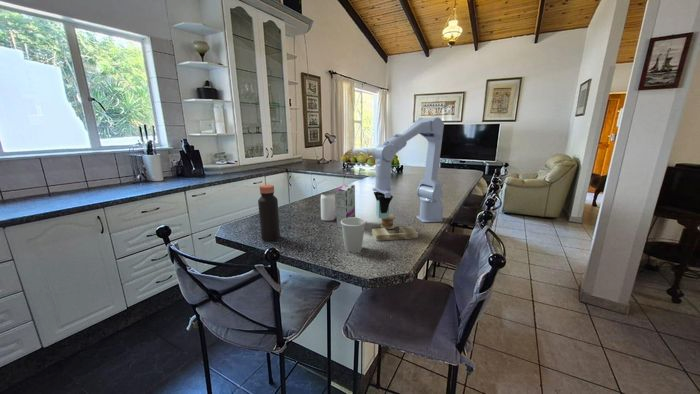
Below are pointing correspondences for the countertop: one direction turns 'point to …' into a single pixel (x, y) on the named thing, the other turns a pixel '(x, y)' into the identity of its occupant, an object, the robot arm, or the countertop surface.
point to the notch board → (394, 234)
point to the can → (327, 206)
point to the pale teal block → (378, 211)
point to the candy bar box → (345, 203)
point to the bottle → (268, 214)
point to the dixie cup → (353, 233)
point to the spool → (388, 222)
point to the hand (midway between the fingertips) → (382, 211)
